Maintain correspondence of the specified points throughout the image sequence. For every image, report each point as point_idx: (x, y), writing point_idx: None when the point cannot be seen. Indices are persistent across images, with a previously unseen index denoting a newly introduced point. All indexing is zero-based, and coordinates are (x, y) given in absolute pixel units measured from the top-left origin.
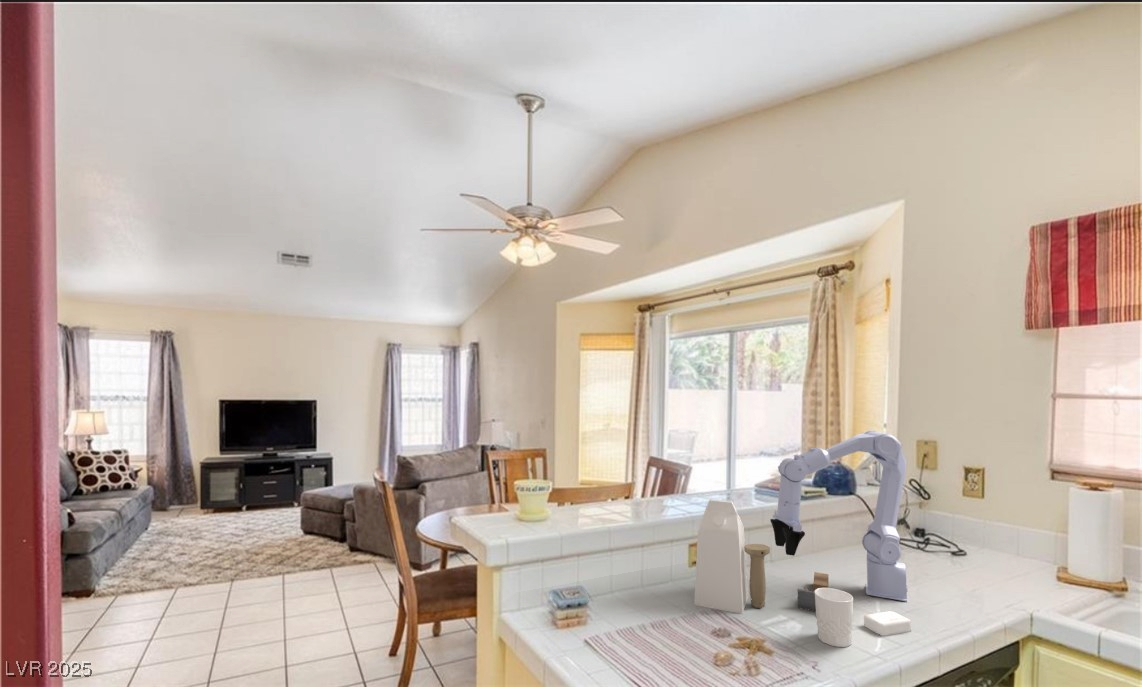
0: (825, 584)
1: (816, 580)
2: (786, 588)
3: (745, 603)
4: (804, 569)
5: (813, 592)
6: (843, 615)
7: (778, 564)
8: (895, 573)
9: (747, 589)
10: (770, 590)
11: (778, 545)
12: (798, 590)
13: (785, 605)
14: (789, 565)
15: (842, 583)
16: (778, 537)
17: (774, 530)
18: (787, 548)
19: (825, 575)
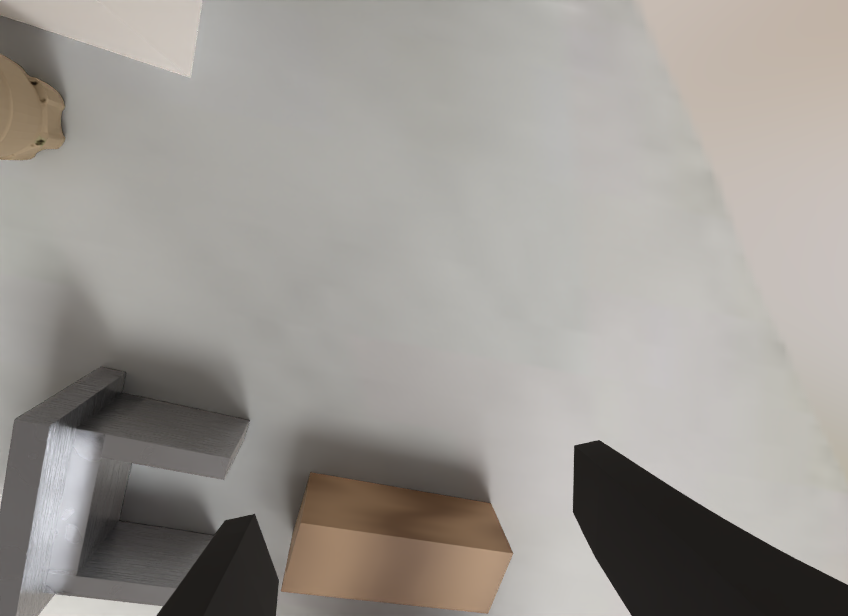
0: (310, 583)
1: (368, 546)
2: (400, 357)
3: (24, 21)
4: (680, 487)
5: (8, 517)
6: None
7: (749, 376)
8: None
9: (161, 55)
10: (347, 258)
11: (575, 467)
12: (16, 424)
13: (118, 303)
14: (734, 428)
15: (515, 613)
16: (649, 548)
17: (786, 599)
18: (166, 609)
19: (466, 598)
